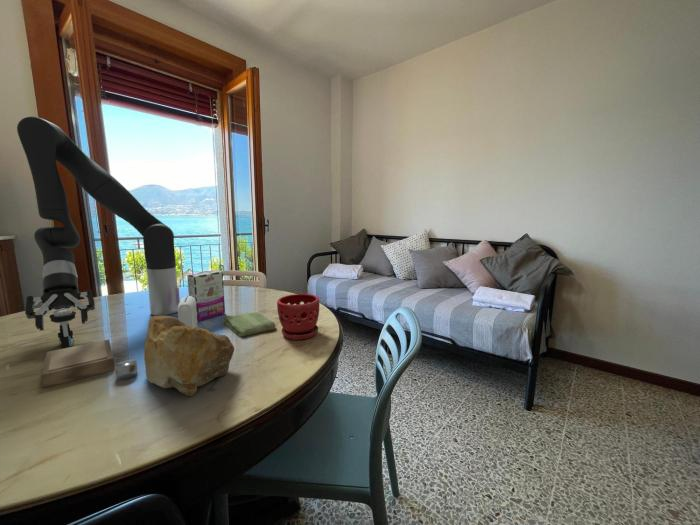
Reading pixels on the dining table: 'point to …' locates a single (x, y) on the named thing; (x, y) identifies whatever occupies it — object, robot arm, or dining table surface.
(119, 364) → the cylinder
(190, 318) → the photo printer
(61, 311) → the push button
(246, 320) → the washcloth
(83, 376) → the tray
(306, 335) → the plant pot
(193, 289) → the candy bar box
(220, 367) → the rough brown rock
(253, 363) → the dining table surface
